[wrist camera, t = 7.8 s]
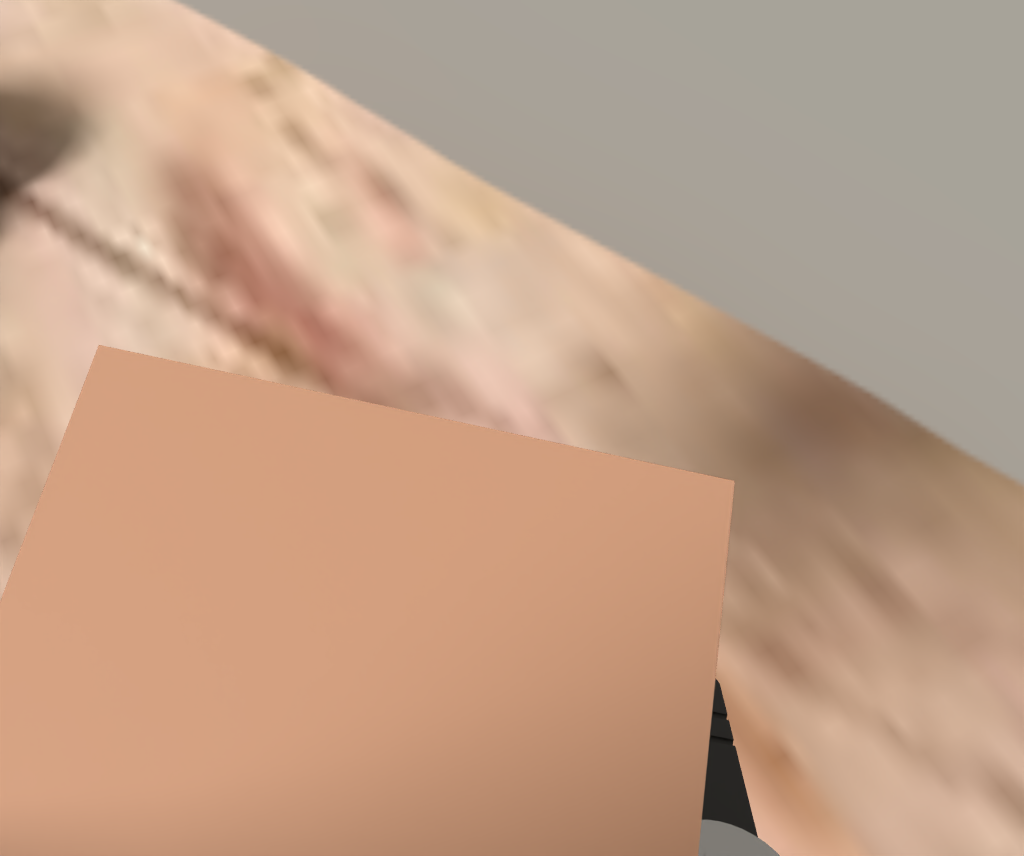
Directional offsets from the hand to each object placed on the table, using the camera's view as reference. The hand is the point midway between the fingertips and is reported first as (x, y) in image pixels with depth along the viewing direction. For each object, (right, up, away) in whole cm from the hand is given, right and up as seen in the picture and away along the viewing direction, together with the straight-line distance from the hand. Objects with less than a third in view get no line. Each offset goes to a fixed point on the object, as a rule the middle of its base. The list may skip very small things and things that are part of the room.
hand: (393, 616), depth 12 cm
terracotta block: (-1, -3, +4) cm, 5 cm away
